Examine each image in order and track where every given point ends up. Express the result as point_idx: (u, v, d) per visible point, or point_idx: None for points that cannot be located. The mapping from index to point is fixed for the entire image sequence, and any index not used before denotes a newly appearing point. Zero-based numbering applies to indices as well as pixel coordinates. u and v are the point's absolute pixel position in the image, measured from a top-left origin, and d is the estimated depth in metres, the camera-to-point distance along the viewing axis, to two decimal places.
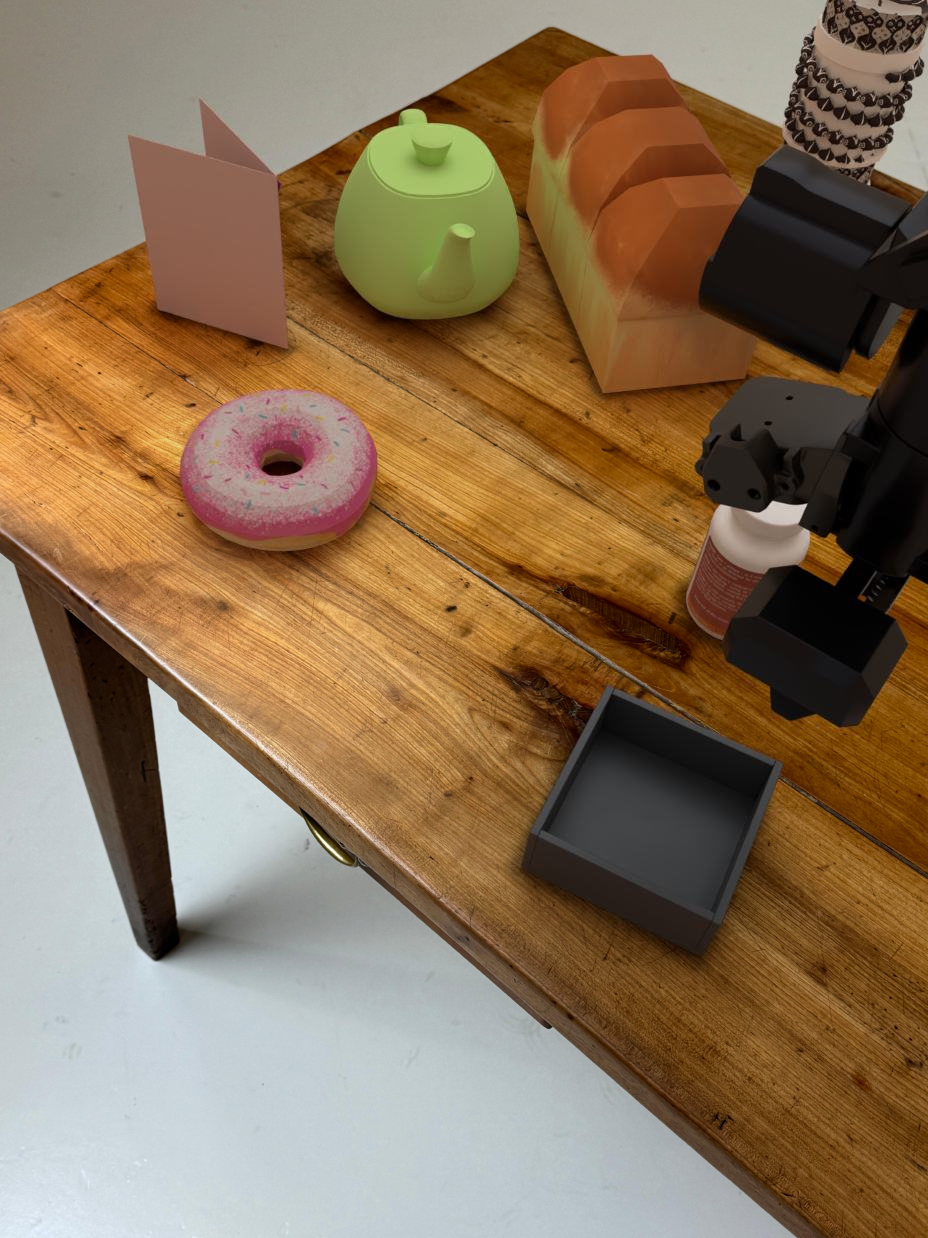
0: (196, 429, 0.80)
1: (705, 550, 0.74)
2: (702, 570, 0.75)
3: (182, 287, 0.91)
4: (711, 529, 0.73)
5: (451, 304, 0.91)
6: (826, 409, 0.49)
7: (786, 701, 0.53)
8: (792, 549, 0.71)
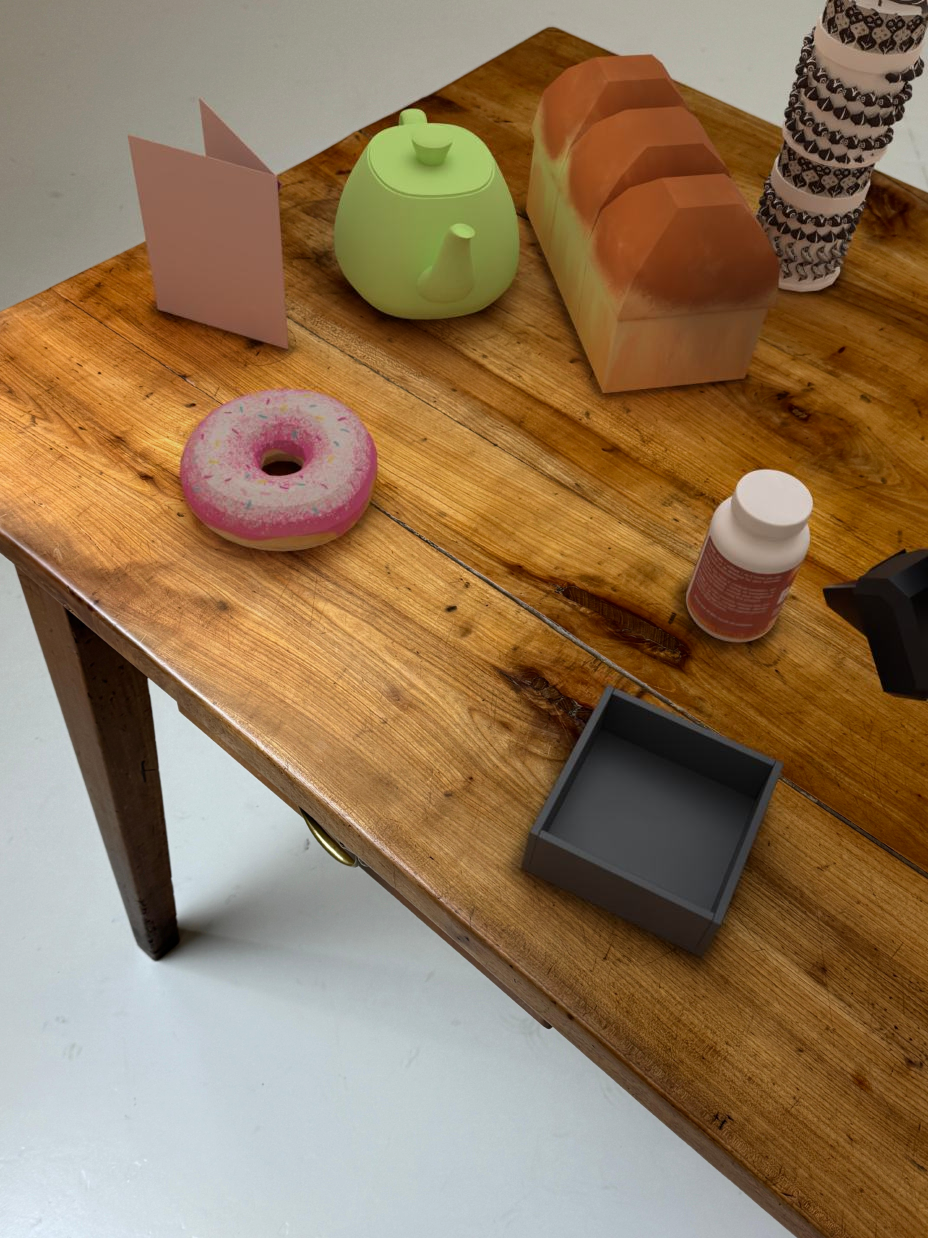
0: (196, 429, 0.80)
1: (705, 550, 0.74)
2: (702, 570, 0.75)
3: (182, 287, 0.91)
4: (711, 529, 0.73)
5: (451, 304, 0.91)
6: None
7: (843, 602, 0.61)
8: (792, 549, 0.71)
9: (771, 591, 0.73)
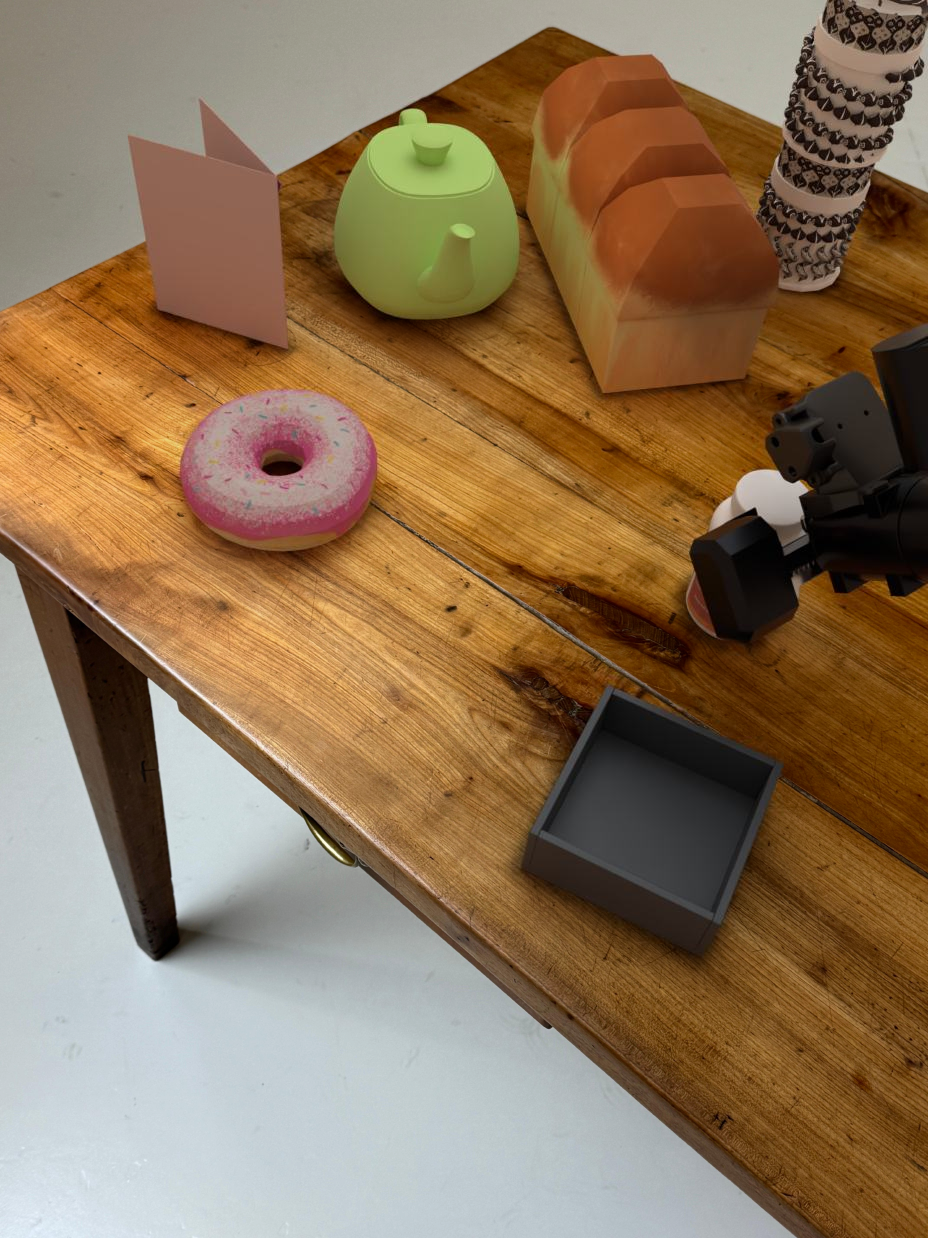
0: (196, 429, 0.80)
1: None
2: None
3: (182, 287, 0.91)
4: (711, 529, 0.73)
5: (451, 304, 0.91)
6: (879, 444, 0.63)
7: None
8: None
9: None
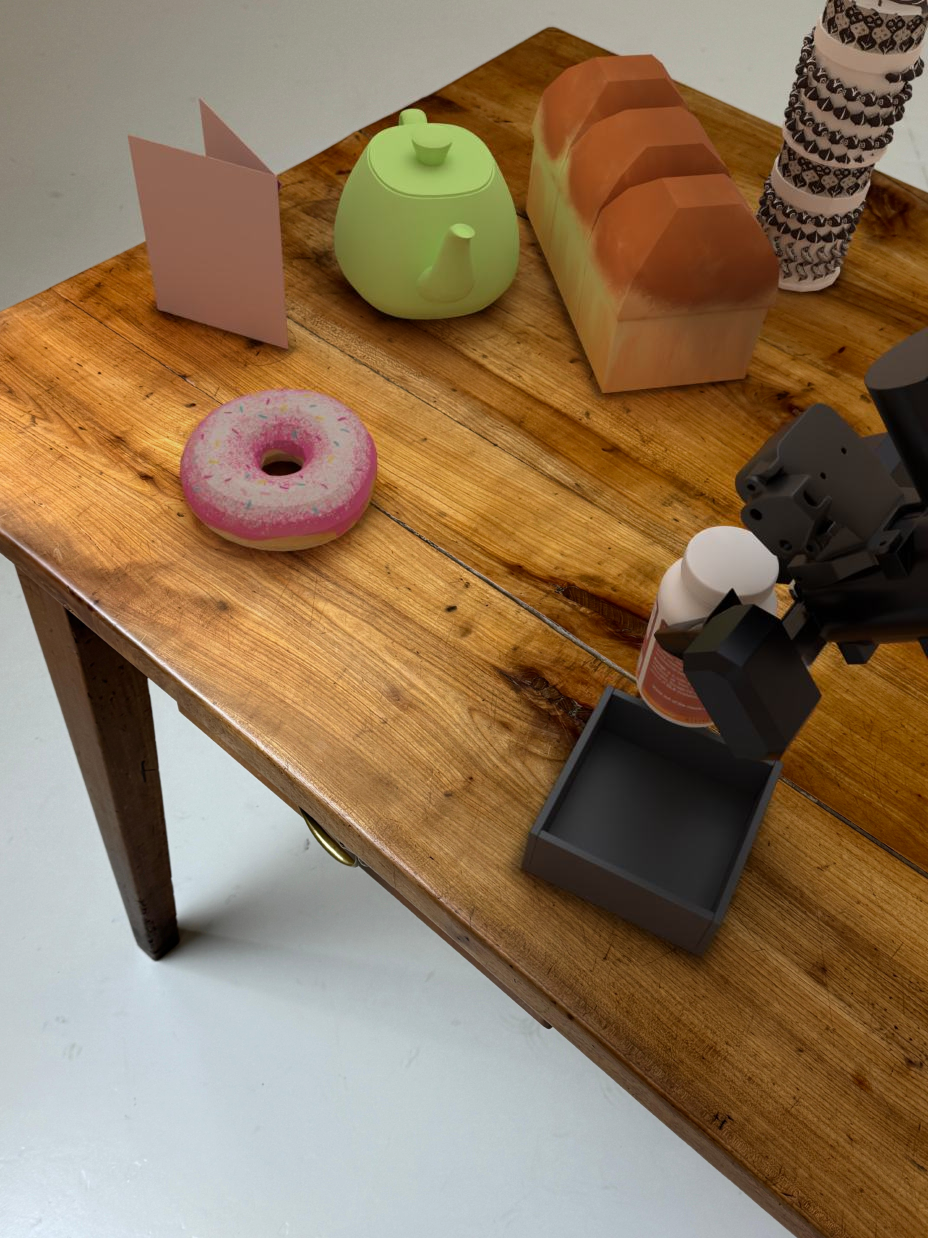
0: (196, 429, 0.80)
1: None
2: (659, 658, 0.62)
3: (182, 287, 0.91)
4: (663, 612, 0.60)
5: (451, 304, 0.91)
6: (868, 485, 0.51)
7: (679, 646, 0.59)
8: None
9: None
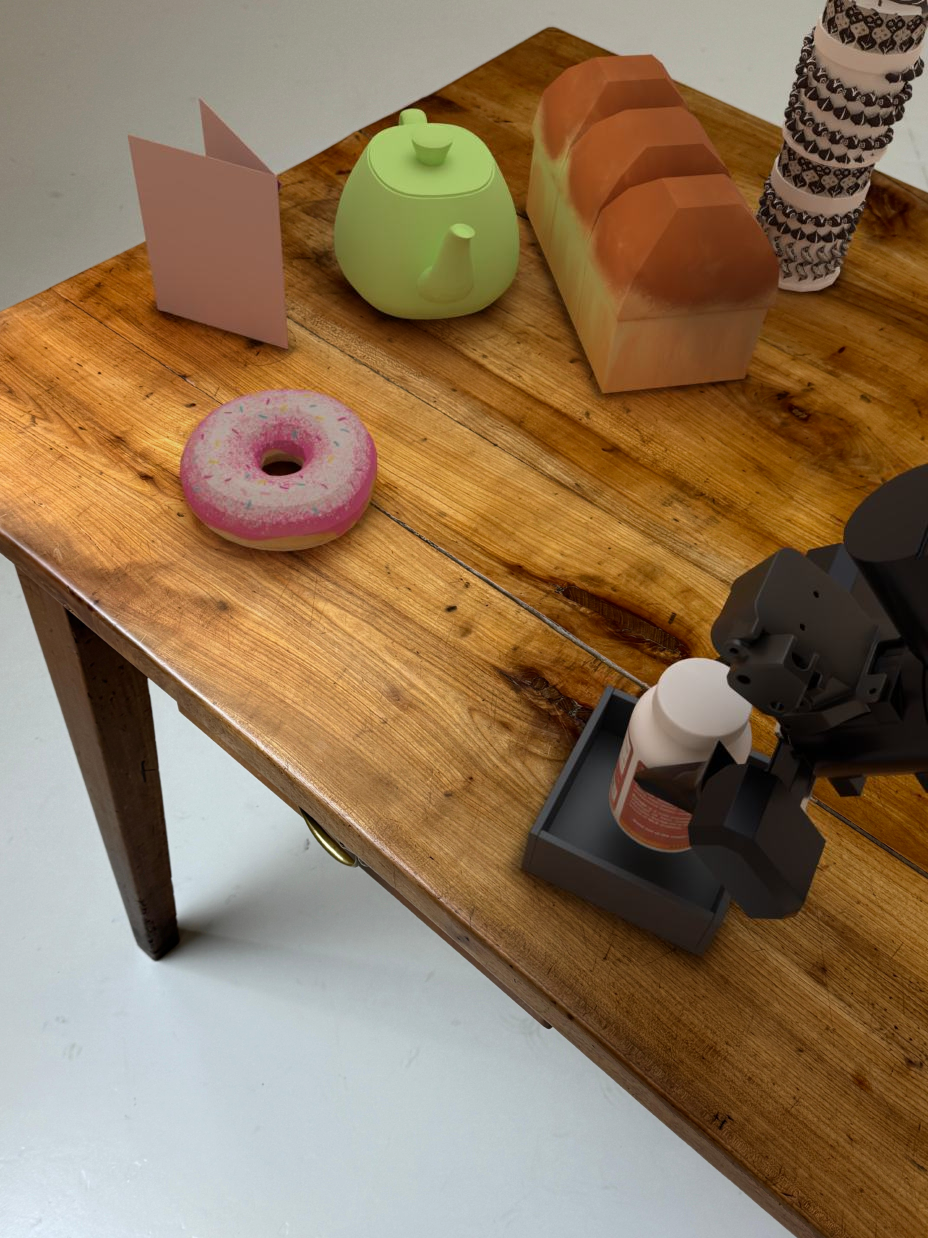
0: (196, 429, 0.80)
1: None
2: (638, 795, 0.61)
3: (182, 287, 0.91)
4: (639, 754, 0.59)
5: (451, 304, 0.91)
6: (845, 626, 0.50)
7: (663, 791, 0.57)
8: (742, 744, 0.58)
9: None
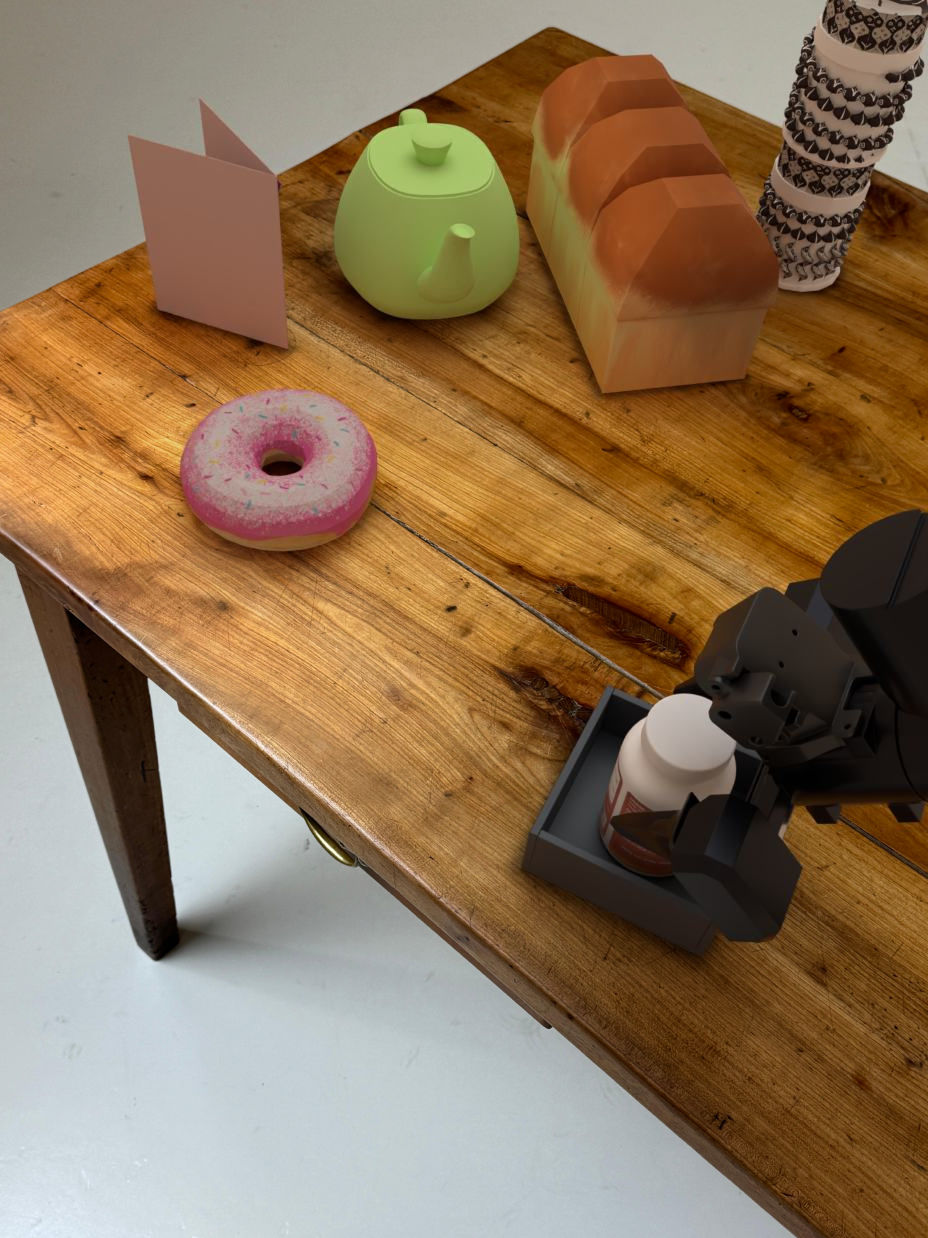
0: (196, 429, 0.80)
1: (625, 805, 0.62)
2: None
3: (182, 287, 0.91)
4: (628, 785, 0.61)
5: (451, 304, 0.91)
6: (822, 663, 0.52)
7: (638, 836, 0.59)
8: (727, 776, 0.61)
9: None
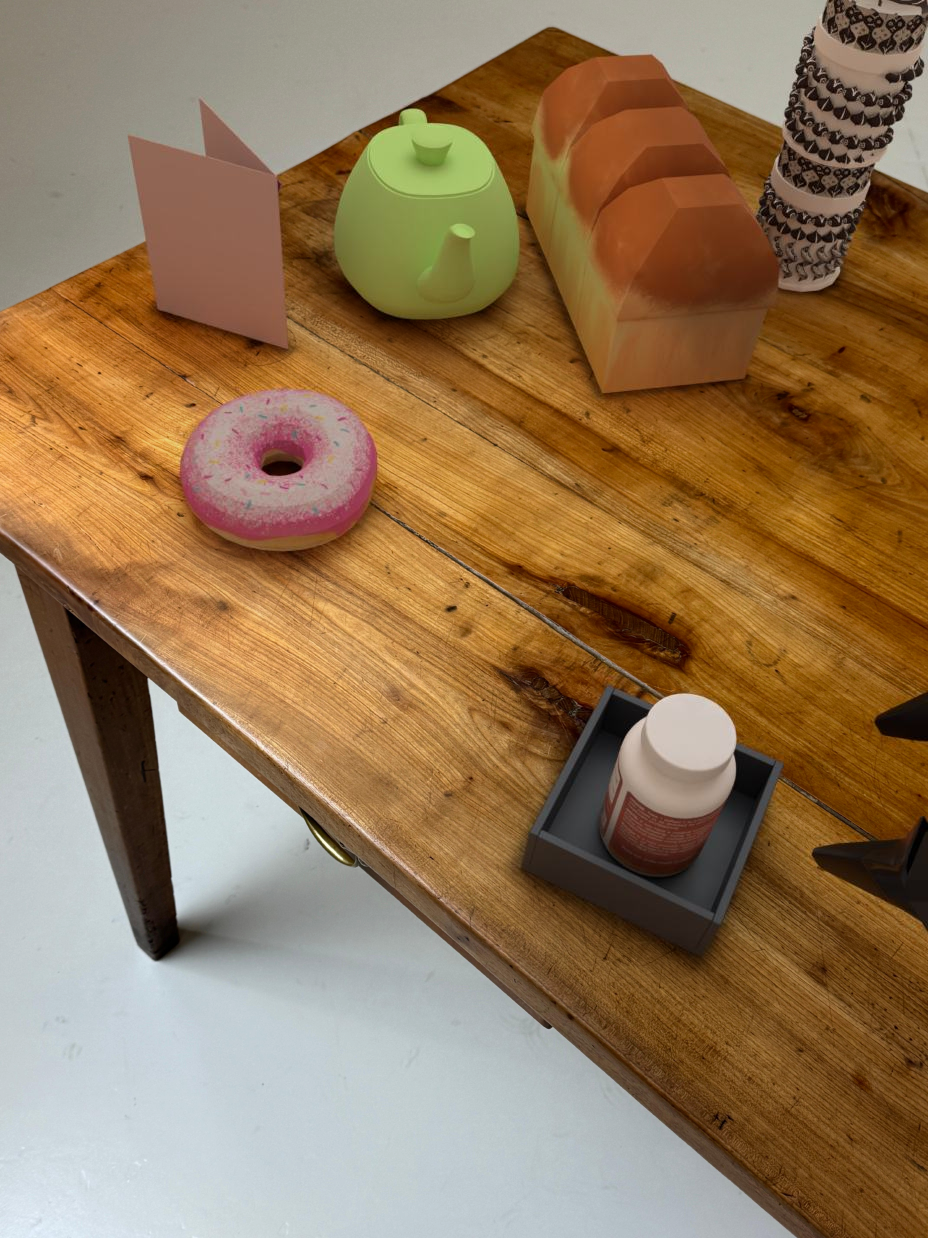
0: (196, 429, 0.80)
1: (625, 805, 0.62)
2: (627, 824, 0.63)
3: (182, 287, 0.91)
4: (628, 785, 0.61)
5: (451, 304, 0.91)
6: None
7: (847, 870, 0.53)
8: (727, 776, 0.61)
9: (713, 821, 0.63)
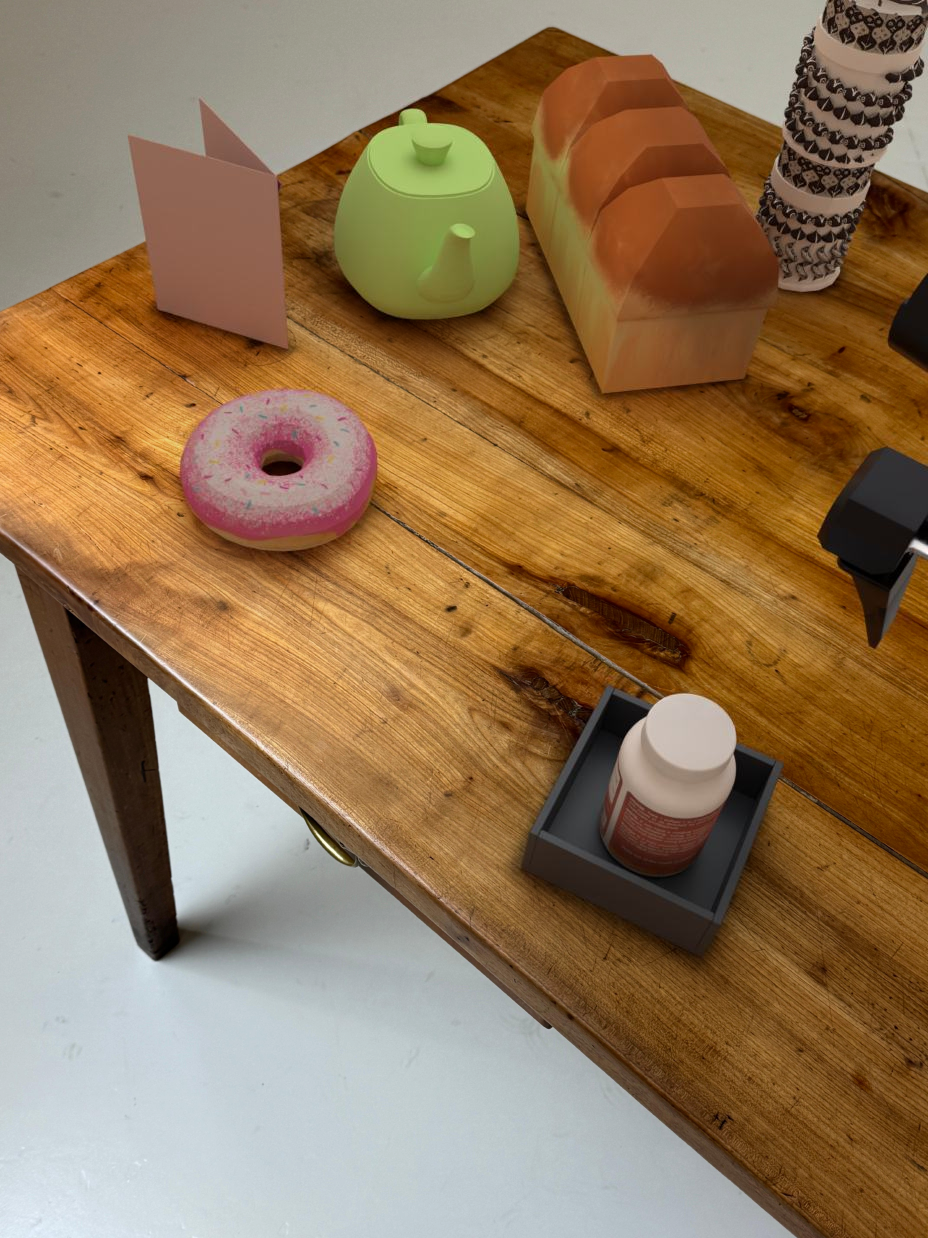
0: (196, 429, 0.80)
1: (625, 805, 0.62)
2: (627, 824, 0.63)
3: (182, 287, 0.91)
4: (628, 785, 0.61)
5: (451, 304, 0.91)
6: None
7: None
8: (727, 776, 0.61)
9: (713, 820, 0.63)
